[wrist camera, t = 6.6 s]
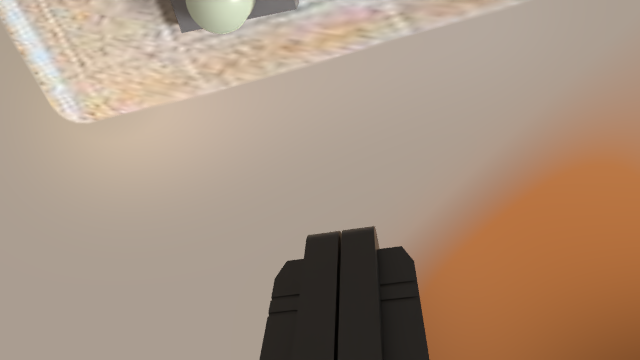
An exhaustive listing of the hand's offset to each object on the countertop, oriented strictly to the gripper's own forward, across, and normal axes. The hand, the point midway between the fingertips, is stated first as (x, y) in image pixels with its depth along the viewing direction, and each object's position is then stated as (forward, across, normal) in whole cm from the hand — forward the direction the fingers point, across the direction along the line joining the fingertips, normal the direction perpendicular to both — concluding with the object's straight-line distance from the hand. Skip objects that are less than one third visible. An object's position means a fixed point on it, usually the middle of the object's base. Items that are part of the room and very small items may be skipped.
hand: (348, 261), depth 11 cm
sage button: (+24, +7, -2) cm, 25 cm away
